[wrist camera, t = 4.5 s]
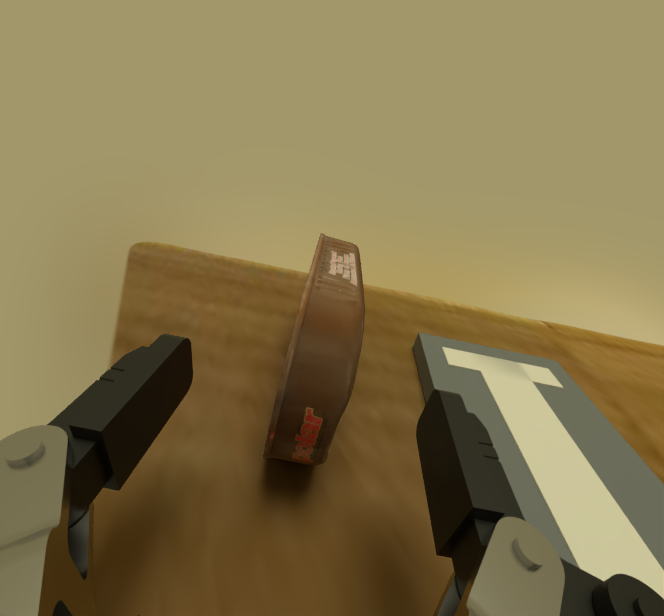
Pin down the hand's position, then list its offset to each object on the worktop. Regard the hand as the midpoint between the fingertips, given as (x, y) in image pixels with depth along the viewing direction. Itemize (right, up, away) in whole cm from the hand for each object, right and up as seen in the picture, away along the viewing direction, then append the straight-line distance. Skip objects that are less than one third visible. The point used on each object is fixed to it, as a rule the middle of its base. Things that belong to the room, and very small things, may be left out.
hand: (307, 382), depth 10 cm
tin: (-1, -2, +9) cm, 10 cm away
